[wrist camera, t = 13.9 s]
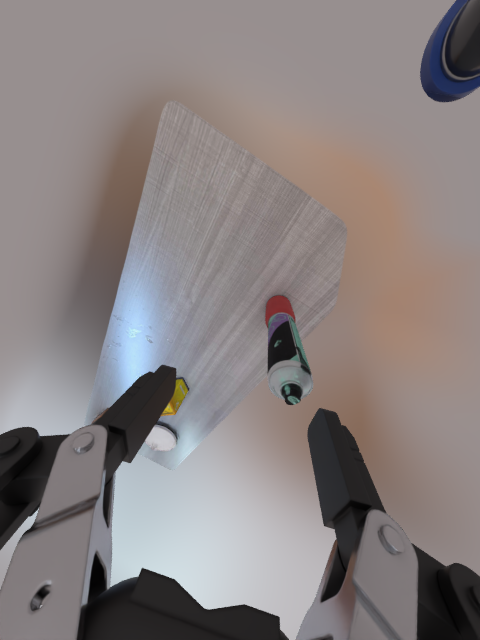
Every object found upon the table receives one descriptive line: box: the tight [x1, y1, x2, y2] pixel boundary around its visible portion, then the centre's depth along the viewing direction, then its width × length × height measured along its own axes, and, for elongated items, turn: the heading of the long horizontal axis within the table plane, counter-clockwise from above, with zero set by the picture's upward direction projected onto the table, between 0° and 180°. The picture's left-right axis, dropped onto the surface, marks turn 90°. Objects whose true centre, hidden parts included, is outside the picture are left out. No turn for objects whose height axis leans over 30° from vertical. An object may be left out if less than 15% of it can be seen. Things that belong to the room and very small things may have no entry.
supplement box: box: [161, 378, 189, 416], centre depth 61 cm, size 6×6×11 cm
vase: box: [145, 425, 176, 451], centre depth 77 cm, size 16×16×7 cm
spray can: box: [268, 313, 313, 405], centre depth 28 cm, size 6×6×20 cm
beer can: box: [265, 296, 295, 327], centre depth 43 cm, size 7×7×12 cm
